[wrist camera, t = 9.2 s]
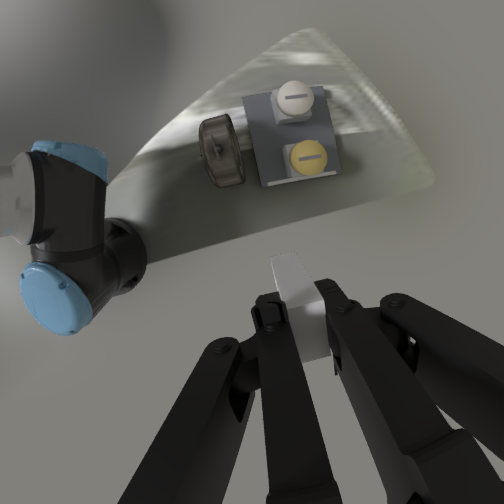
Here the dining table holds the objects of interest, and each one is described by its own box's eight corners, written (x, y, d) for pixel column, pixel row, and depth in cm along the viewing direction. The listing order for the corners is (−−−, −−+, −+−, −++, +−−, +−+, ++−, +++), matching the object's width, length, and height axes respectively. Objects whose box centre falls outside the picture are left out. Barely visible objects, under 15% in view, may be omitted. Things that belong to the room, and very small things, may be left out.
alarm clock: (247, 180, 48) (247, 185, 32) (216, 188, 48) (202, 196, 33) (232, 121, 45) (225, 97, 29) (202, 128, 45) (181, 109, 30)
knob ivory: (276, 124, 43) (282, 115, 35) (270, 97, 42) (275, 82, 34) (306, 120, 43) (317, 110, 35) (299, 93, 41) (309, 78, 34)
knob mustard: (287, 177, 46) (296, 178, 38) (281, 147, 44) (288, 142, 36) (316, 171, 45) (330, 172, 37) (311, 143, 44) (323, 137, 36)
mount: (261, 187, 48) (263, 189, 42) (242, 100, 44) (241, 89, 37) (338, 173, 48) (351, 174, 41) (319, 89, 43) (330, 77, 37)
